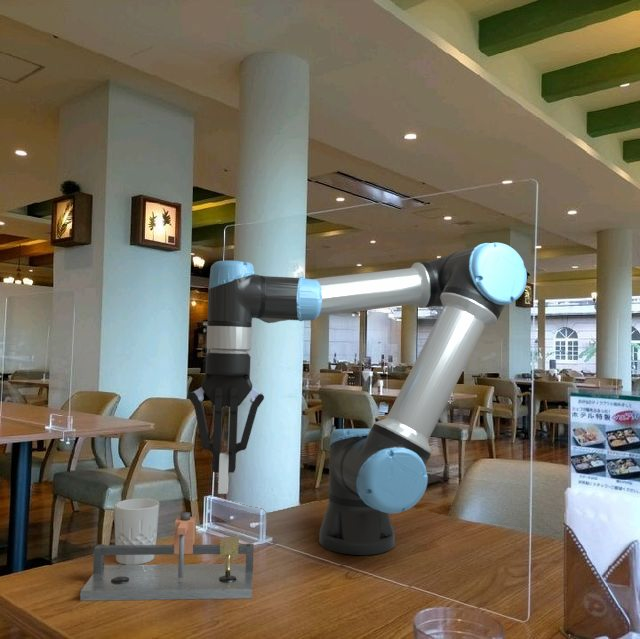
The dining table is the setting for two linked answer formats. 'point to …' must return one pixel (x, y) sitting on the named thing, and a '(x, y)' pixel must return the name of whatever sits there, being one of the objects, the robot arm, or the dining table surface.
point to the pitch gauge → (171, 574)
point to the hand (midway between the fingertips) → (223, 491)
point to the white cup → (136, 527)
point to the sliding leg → (184, 538)
